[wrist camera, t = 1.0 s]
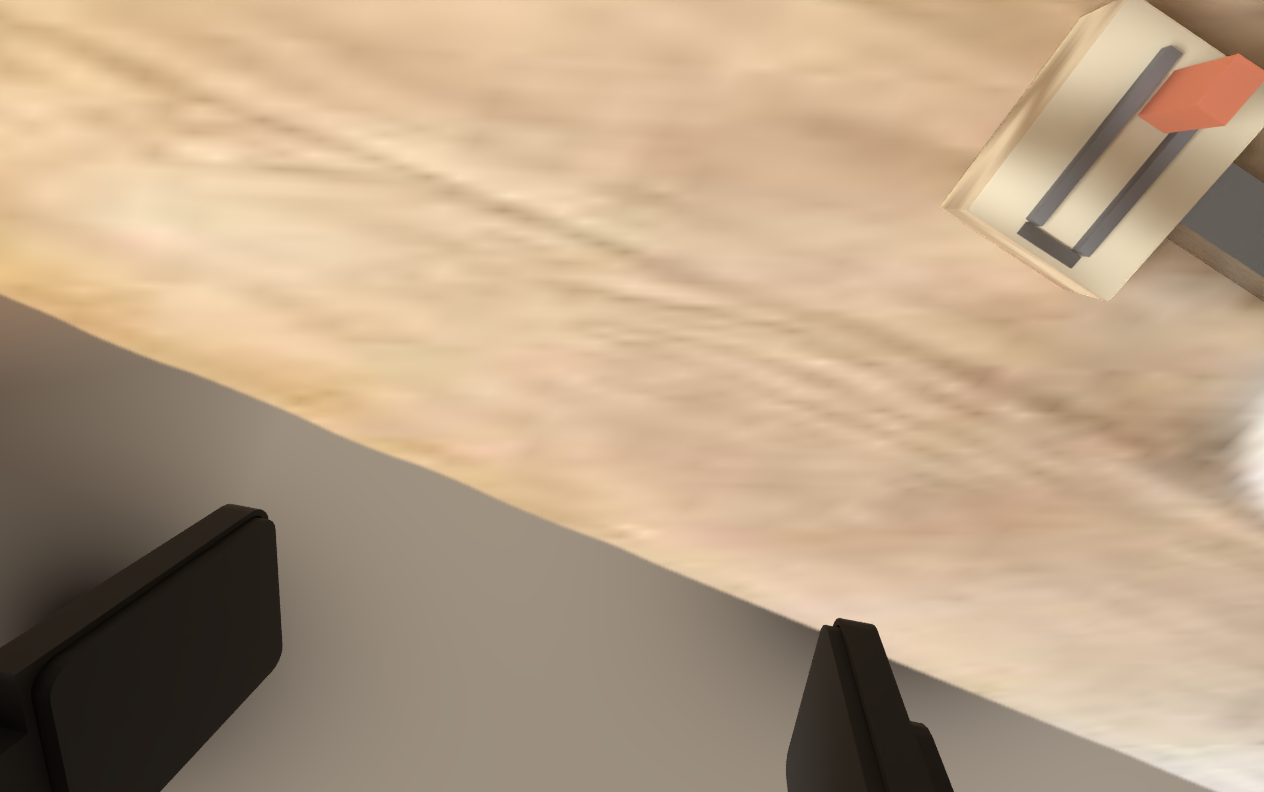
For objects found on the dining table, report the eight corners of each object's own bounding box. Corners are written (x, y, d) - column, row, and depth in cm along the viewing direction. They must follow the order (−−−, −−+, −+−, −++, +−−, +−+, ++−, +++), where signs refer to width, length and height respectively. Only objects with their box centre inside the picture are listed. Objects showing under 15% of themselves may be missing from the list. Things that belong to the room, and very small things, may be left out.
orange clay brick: (1174, 70, 27) (1239, 53, 23) (1201, 88, 27) (1269, 74, 23) (1137, 115, 27) (1195, 105, 24) (1163, 133, 27) (1225, 125, 24)
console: (1080, 16, 30) (1141, -12, 26) (1218, 109, 30) (1301, 96, 26) (939, 207, 33) (972, 210, 29) (1064, 289, 34) (1116, 304, 29)
